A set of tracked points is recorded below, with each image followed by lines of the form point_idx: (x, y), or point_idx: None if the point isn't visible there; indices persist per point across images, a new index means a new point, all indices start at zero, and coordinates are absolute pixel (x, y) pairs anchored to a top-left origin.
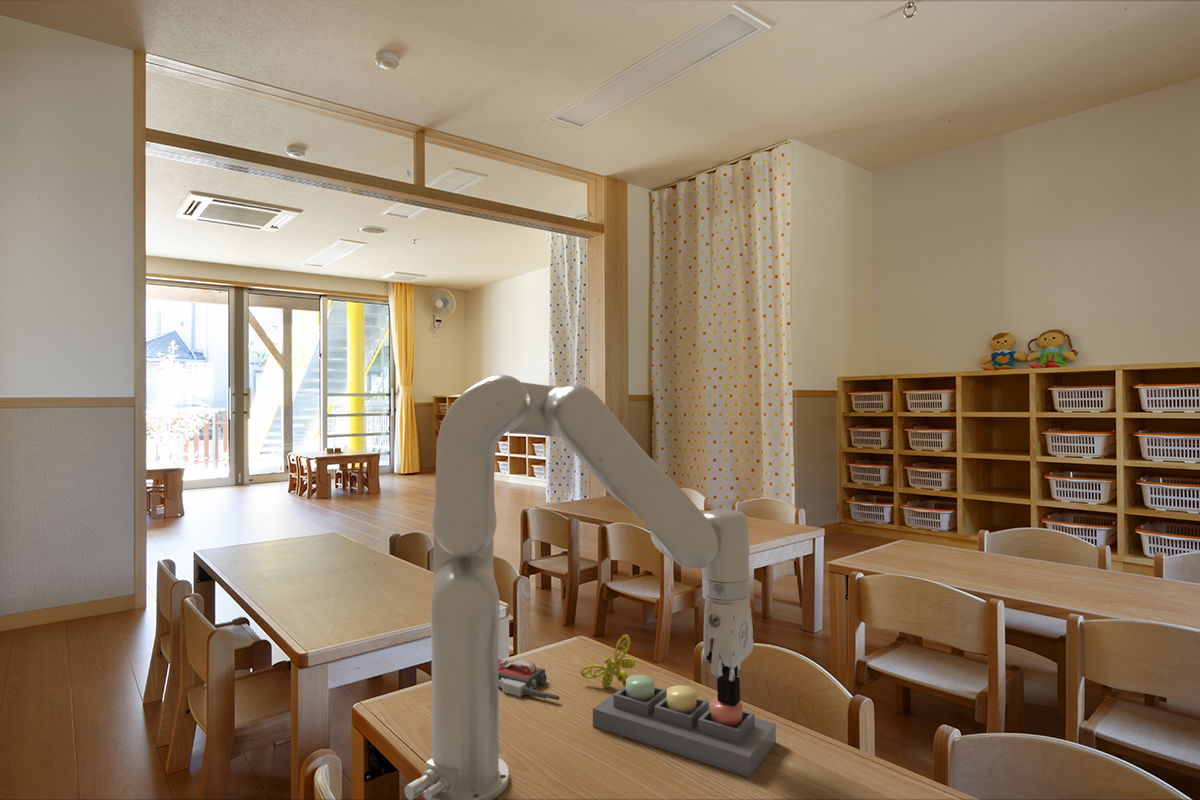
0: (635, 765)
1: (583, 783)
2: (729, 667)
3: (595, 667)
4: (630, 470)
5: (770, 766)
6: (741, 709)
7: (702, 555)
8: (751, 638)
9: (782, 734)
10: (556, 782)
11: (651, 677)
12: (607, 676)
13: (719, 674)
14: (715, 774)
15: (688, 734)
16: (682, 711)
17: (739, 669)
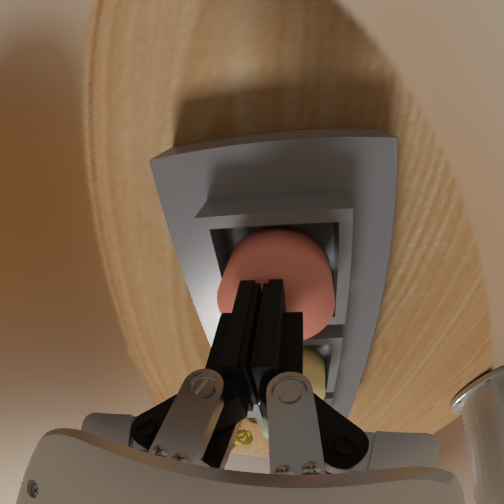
0: (428, 321)
1: (478, 337)
2: (453, 474)
3: (242, 441)
4: None
5: (293, 102)
6: (266, 253)
7: None
8: (44, 498)
9: (131, 155)
10: (479, 354)
11: (263, 429)
12: None
13: (419, 441)
14: (405, 202)
15: (363, 309)
16: (321, 358)
17: (190, 397)
